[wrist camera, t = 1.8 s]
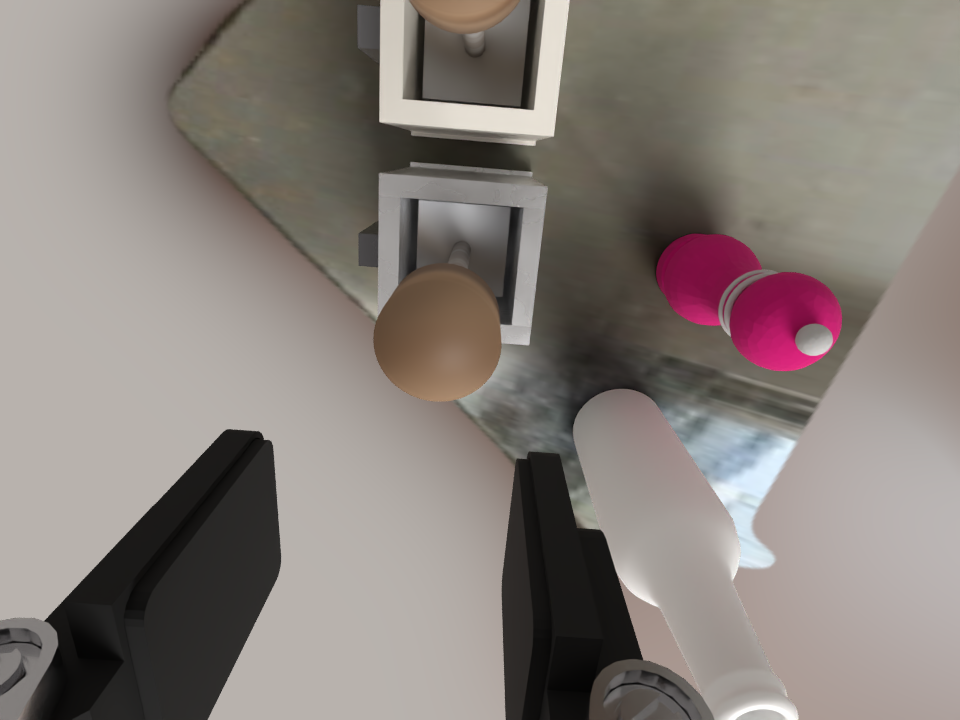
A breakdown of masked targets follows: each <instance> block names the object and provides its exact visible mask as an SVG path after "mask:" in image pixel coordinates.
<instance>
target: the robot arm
mask: <svg viewBox="0 0 960 720" xmlns="http://www.w3.org/2000/svg"><path fill="white" fill-rule="evenodd" d="M280 565H281V549H280V535H279V522H278V509H277V494H276V480H275V467H274V454H273V445H272V442H271V441H270V440H264V438H263V435H262V433H260V432H259V431H244V430H231V429H228V430H226V431H224V432H223V433H222V434H221V435H220V436H219V437H218V438H217V439H216V440H215V441H214V443H212V445H211V446H210V447H209V448H208V449H207V450H206V451H205V452H204V453H203V454H202V455H201V456H200V457H199V458H198V459H197V460H196V462H195V463H194V464H193V465H192V466H191V467H190V468H189V469H188V470H187V471H186V472H185V473H184V474H183V475H182V476H181V477H180V479H179V480H178V481H177V482H176V483H175V484H174V485H173V486H172V487H171V488H170V489H169V490H168V491H167V492H166V493H165V494H164V495H163V497H162V498H161V499H160V500H159V501H158V502H157V503H156V504H155V505H154V506H152V508H151V509H150V510H149V511H148V512H147V513H146V514H145V515H144V516H143V517H142V518H141V519H140V520H139V521H138V522H137V523H136V524H135V526H133V528H132V529H131V530H130V531H129V532H128V533H127V534H126V535H125V536H124V537H123V538H122V539H121V540H120V541H119V542H118V543H117V544H116V546H115V547H114V548H113V549H112V550H111V551H110V552H109V553H108V554H107V555H106V556H105V557H104V558H103V559H102V560H101V561H100V562H99V564H98V565H97V566H96V567H95V568H94V569H93V570H92V571H91V572H90V573H89V574H88V575H87V576H86V577H85V578H84V579H83V581H82V582H81V583H80V584H79V585H78V586H77V587H76V588H75V589H74V590H73V591H72V592H71V593H70V594H69V596H67V597H66V598H65V600H64V601H63V602H62V603H61V604H60V605H59V606H58V607H57V608H56V609H55V610H54V611H53V612H52V613H51V614H50V615H49V617H48V618H47V619H46V620H45V621H41V620H39V619H35V618H13V619H7V620H2V621H0V720H208V718H209V715H210V714H211V711H212V709H213V707H214V705H215V703H216V701H217V699H218V697H219V695H220V693H221V691H222V689H223V687H224V685H225V683H226V681H227V679H228V677H229V675H230V673H231V671H232V669H233V667H234V665H235V663H236V661H237V659H238V657H239V655H240V653H241V651H242V649H243V647H244V644H245V642H246V641H247V638H248V636H249V634H250V632H251V630H252V628H253V626H254V624H255V622H256V620H257V618H258V616H259V614H260V612H261V610H262V608H263V606H264V604H265V602H266V600H267V598H268V596H269V594H270V592H271V590H272V588H273V586H274V584H275V582H276V580H277V577H278V574H279V571H280ZM502 617H503V648H504V677H505V678H504V680H505V711H506V720H714V717H713V714H712V712H711V710H710V709H709V707H708V706H707V704H706V703H705V701H704V699H703V698H702V696H701V695H700V694H699V693H698V692H697V691H696V690H695V689H694V688H693V687H692V686H691V685H690V684H689V683H688V682H687V681H686V680H685V679H684V678H682V677H680V676H679V675H677V674H676V673H674V672H673V671H671V670H670V669H668V668H666V667H663V666H660V665H658V664H656V663H653V662H650V661H644V660H643V658H642V655H641V651H640V648H639V645H638V641H637V638H636V635H635V632H634V629H633V625H632V622H631V619H630V615H629V612H628V609H627V606H626V602H625V599H624V596H623V592H622V589H621V586H620V583H619V579H618V576H617V573H616V570H615V566H614V563H613V560H612V556H611V553H610V550H609V547H608V543H607V540H606V537H605V535H604V533H603V532H602V531H601V530H596V529H582V528H577V526H576V522H575V518H574V514H573V509H572V505H571V501H570V497H569V492H568V488H567V484H566V480H565V476H564V471H563V467H562V463H561V459H560V455H559V454H555V453H542V452H528V456H527V459H517V460H516V465H515V473H514V482H513V491H512V500H511V507H510V516H509V524H508V533H507V541H506V550H505V558H504V567H503V576H502Z"/></svg>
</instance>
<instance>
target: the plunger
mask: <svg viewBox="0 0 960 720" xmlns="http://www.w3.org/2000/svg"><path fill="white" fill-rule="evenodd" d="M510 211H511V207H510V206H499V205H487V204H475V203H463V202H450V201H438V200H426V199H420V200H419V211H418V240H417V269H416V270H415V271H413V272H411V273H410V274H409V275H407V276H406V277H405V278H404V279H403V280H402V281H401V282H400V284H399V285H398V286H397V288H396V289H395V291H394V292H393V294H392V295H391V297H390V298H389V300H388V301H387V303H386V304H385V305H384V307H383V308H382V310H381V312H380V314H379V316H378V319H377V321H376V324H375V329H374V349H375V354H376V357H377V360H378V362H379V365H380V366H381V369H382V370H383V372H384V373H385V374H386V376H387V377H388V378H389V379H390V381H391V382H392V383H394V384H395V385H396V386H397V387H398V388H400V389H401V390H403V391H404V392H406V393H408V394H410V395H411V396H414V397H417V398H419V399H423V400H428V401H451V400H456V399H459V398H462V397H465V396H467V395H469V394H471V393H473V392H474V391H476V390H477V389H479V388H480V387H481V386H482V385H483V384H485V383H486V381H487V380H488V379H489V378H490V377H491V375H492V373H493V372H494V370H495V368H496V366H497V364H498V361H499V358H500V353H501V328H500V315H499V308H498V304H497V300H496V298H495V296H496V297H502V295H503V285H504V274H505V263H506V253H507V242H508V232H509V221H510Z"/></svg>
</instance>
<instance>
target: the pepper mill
mask: <svg viewBox="0 0 960 720" xmlns="http://www.w3.org/2000/svg"><path fill="white" fill-rule="evenodd" d="M656 277H657V282H658V285H659V287H660V289H661V291H662V292H663V293H664V294H665V296H666V298H667V300H668V302H669V304H670V306H671V307H672V308H673V309H674V311H676V312H677V313H678V314H679V315H681V316H682V317H684V318H686V319H687V320H689V321H692V322H694V323H697V324H702V325H712V326H715V325H721V326H722V327H723V329H724V330H725V332H726V333H727V334H728V335H730V336H731V338H732V341H733V343H734V345H735V346H736V348H737V349H738V351H739V352H740V353H741V354H742V355H743V356H744V357H745V358H746V359H748V360H749V361H751V362H753V363H754V364H756V365H758V366H760V367H763V368H767V369H771V370H775V371H791V370H797V369H801V368H804V367H806V366H808V365H810V364H812V363H814V362H816V361H817V360H819V359H820V358H822V357H823V356H824V355H825V354H826V353H827V352H828V351H829V350H830V349H831V348H832V346H833V345H834V344H835V342H836V340H837V338H838V336H839V333H840V329H841V324H842V314H841V308H840V305H839V303H838V300H837V298H836V297H835V296H834V294H833V293H832V292H831V290H830V289H829V288H828V287H827V286H826V285H824V284H823V283H821V282H820V281H818V280H817V279H815V278H813V277H810V276H807V275H804V274H800V273H796V272H782V273H778V272H775V271H772V270H762V268H761V265H760V263H759V261H758V260H757V258H756V256H755V255H754V253H753V252H752V251H751V250H750V248H748V247H747V246H746V245H745V244H743V243H742V242H740V241H738V240H736V239H734V238H733V237H730V236H726V235H719V234H710V235H705V234H689V235H685V236H683V237H680V238H678V239H677V240H675V241H674V242H672V243H671V244H670V245H669V246H668V247H667V248H666V249H665V250H664V252H663V253H662V255H661V257H660V259H659V262H658V265H657V271H656Z"/></svg>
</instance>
